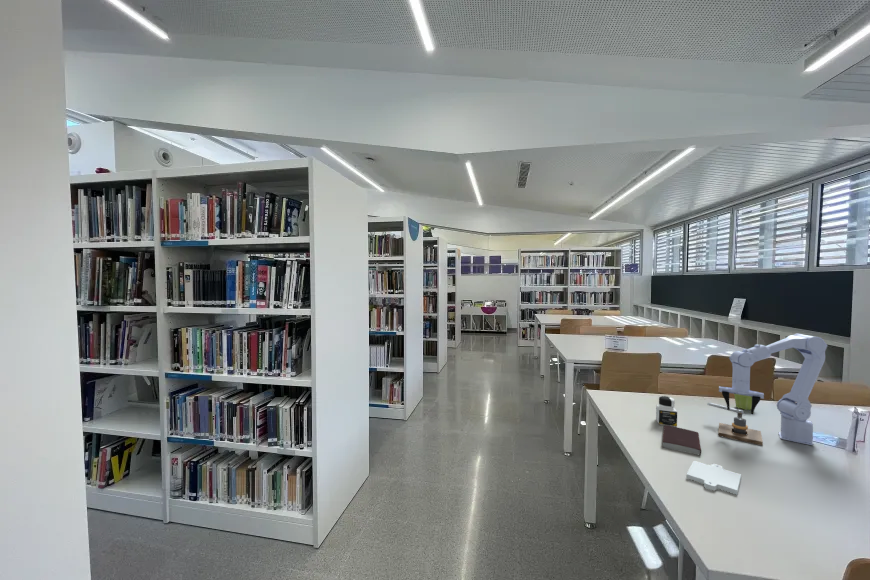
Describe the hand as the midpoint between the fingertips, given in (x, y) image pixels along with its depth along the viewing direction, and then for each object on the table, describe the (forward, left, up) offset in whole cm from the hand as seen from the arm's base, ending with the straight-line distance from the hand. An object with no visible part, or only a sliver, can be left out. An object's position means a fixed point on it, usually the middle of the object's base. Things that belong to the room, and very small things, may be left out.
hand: (740, 411), depth 153 cm
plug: (0, 0, -10) cm, 10 cm away
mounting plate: (+7, +51, -11) cm, 53 cm away
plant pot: (-2, -46, -10) cm, 47 cm away
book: (+18, +25, -11) cm, 33 cm away
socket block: (0, 0, -10) cm, 10 cm away
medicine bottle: (+26, +5, -10) cm, 28 cm away
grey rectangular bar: (+5, -8, -2) cm, 10 cm away
